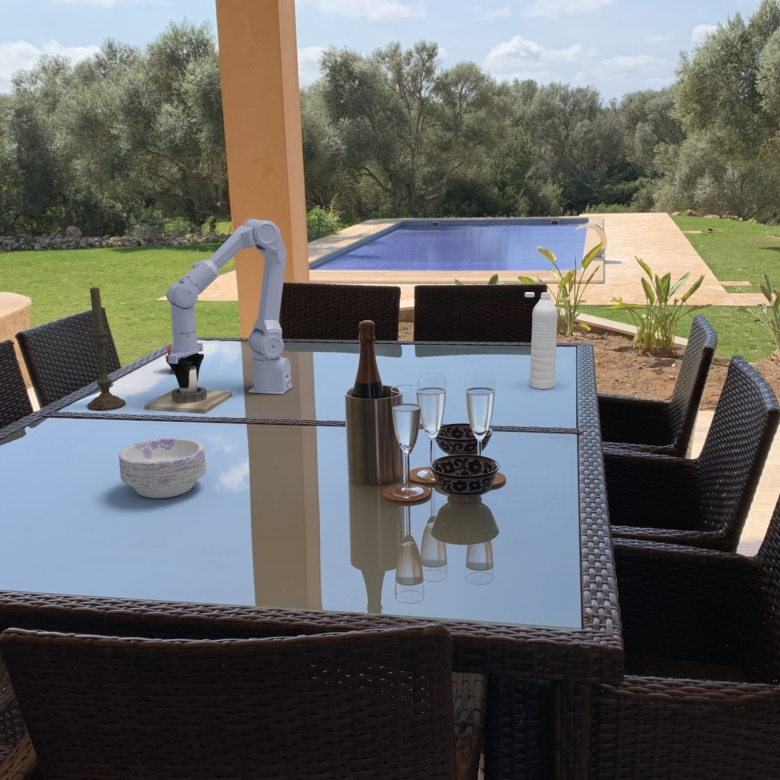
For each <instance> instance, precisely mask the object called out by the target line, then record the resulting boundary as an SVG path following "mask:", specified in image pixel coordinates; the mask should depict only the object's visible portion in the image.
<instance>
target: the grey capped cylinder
mask: <svg viewBox="0 0 780 780" xmlns="http://www.w3.org/2000/svg"><path fill="white" fill-rule="evenodd" d="M197 387H198V381H197V376H196V367H195V366H191V368H190V373H189V387H188V388H180V387H179V386H178V388H179V392H180V394H193V393H198V390H197Z"/></svg>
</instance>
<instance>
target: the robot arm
mask: <svg viewBox="0 0 780 780" xmlns="http://www.w3.org/2000/svg"><path fill="white" fill-rule="evenodd" d="M251 248H255V249H256V250H257V251H259V252H260V254H261V255H262V256H263V257H264V263H263V273H262V274H263V275H262V281H261V289H260V297H259V307H258V315H257V319H256V320H255V322H254V323H253V326H252V331H251V332H250V334H249V335H248V339H247V344H248V347H249V349H250V350H251V351H252V372H253V376H252V377H253V387H251V388H250V389H249V390H248V393H249V394H250V393H252V394H253V393H255V394H266V395H267V394H269V395H270V394H271V395H283V394H285V393H286V392H287V391H289V390H290V389H292V388H293V385H292V367H291V361H290V359H289V358H287V357H282V356H281V354H282V353H283V350H284V349H285V343H284V340H283V329H282V327H281V324H280V322H279V321H280V313H281V312H280V311H281V306H282V305H281V303H282V297H283V296H282V295H283V289H284V279H285V274H286V273H285V272H286V263H287V256H288V253H287V250H286V246H285V244H284V241H283V239H282V231H281V230H280V228H279V227H278V226H277V224H275V223H274V222H273V221H270V220H261V219H257V218H248V219H247V220H245V221H244V222H243V223H242V225H239V226H238V227H236V229H235V230H234V231H233V233H232V234H231V235H230V236H229V237H228V238H227V239H226V241H224V242H223V243H222V245H221V246H220V247H219V248H218V249H217V250H215V252H214V253H213V254H212V255H211V256H210V257H209V259H201V260H199V261H195V262H193V263H192V264H191V265H192V267H191V268H190V270H188V271H187V272H186V273H185V274H184V275H183V276H180V277H179V278H178V280H179V281H177V282H173V283H172V284H170V286H169V287H168V289H167V291H166V292H167V293H165V296H166V299H167V301H168V302H169V304H170V317H171V318H170V319H171V330H172V341H173V344H172V345H173V346H174V348H172V349H170V352H172V353H171V354H170V355H169V356H168V360H169V361H168V363H169V364H168V363H167V364H168V365H169V367H170V369H171V368H172V370H173V372H172V373H174V376H175V378H176V381H177V385H178V388H179V387H180V388H188V387H189V373H190V368H191V366H195V367H196V376H197V382H198V380H199V375H200V374H199V373H200V369H201V365H202V362H203V360H204V359H205V354H204V353H199V352H203V351H204V346H203V343H201V342H198V336H197V335H198V333H197V321H196V312H195V305H196V304H197V302H198V299H199V295H201V294H202V293H203V292H204V291H205V290H206V289H207V288H208V287H209V286H210V285H211V284H213V282H214V281H215V280H216V279H217V278H218V275H219V269H221V268H222V267H223V266H225V264H226V263H227V262H228V261H230V260H231V259H232V258H233V257H234V256H235V255H236V254H238V253H239V252H240V251H241V250H244V249H251Z"/></svg>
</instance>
